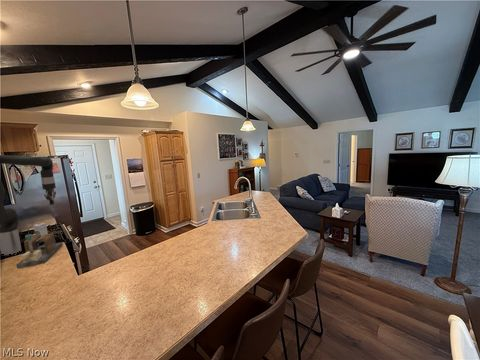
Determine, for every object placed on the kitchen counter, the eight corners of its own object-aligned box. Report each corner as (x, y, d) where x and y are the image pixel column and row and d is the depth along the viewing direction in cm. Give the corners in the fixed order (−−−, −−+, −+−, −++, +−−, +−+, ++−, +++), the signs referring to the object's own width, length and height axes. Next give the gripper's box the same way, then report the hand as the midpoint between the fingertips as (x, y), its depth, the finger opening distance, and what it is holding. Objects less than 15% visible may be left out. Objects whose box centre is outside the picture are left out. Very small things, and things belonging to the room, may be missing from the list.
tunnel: (17, 268, 129) (13, 247, 127) (40, 248, 155) (37, 231, 153) (44, 263, 135) (41, 243, 132) (63, 245, 160) (60, 228, 158)
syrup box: (49, 238, 174) (46, 222, 171) (41, 241, 168) (38, 225, 166) (43, 238, 174) (40, 222, 172) (35, 241, 168) (32, 225, 166)
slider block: (23, 262, 130) (18, 237, 128) (28, 258, 136) (24, 234, 133) (37, 260, 133) (32, 235, 130) (42, 256, 138) (38, 232, 136)
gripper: (46, 182, 161) (50, 203, 164) (37, 184, 149) (41, 207, 151) (58, 181, 164) (61, 202, 166) (50, 183, 152) (54, 205, 154)
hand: (52, 204), depth 159 cm, fingers closed
